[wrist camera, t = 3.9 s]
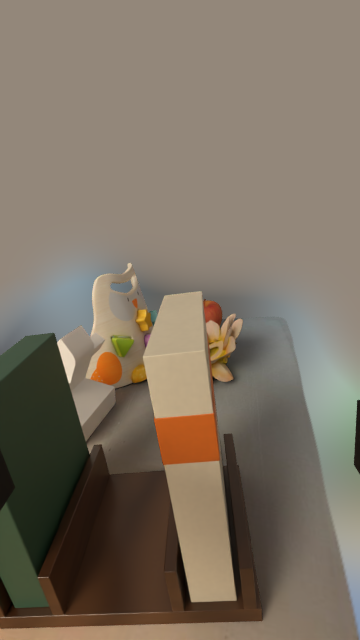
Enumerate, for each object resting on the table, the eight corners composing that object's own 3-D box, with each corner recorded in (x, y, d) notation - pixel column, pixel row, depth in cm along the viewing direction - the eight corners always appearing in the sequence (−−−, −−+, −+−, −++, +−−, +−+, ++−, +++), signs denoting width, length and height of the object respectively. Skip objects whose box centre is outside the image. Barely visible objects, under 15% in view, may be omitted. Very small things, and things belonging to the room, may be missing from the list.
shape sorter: (139, 397, 48) (114, 281, 42) (79, 393, 51) (49, 286, 46) (179, 342, 65) (166, 254, 60) (133, 342, 69) (116, 259, 63)
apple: (213, 325, 72) (209, 290, 69) (230, 334, 65) (227, 297, 63) (183, 333, 70) (178, 298, 67) (198, 344, 63) (192, 305, 60)
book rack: (239, 474, 32) (227, 354, 28) (262, 621, 21) (248, 457, 16) (65, 486, 34) (28, 375, 29) (-1, 629, 22) (-77, 482, 18)
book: (224, 469, 31) (202, 290, 25) (237, 601, 21) (206, 350, 15) (192, 471, 32) (163, 295, 26) (190, 603, 21) (141, 357, 15)
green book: (97, 479, 32) (54, 332, 27) (50, 607, 22) (-33, 410, 17) (72, 480, 33) (25, 335, 27) (14, 608, 22) (-78, 415, 17)
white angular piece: (12, 463, 38) (-28, 359, 34) (78, 396, 51) (55, 314, 46) (73, 471, 36) (38, 360, 31) (127, 398, 48) (107, 311, 44)
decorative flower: (168, 343, 61) (172, 293, 57) (227, 349, 61) (236, 300, 57) (159, 391, 47) (164, 330, 43) (236, 399, 47) (248, 339, 43)
